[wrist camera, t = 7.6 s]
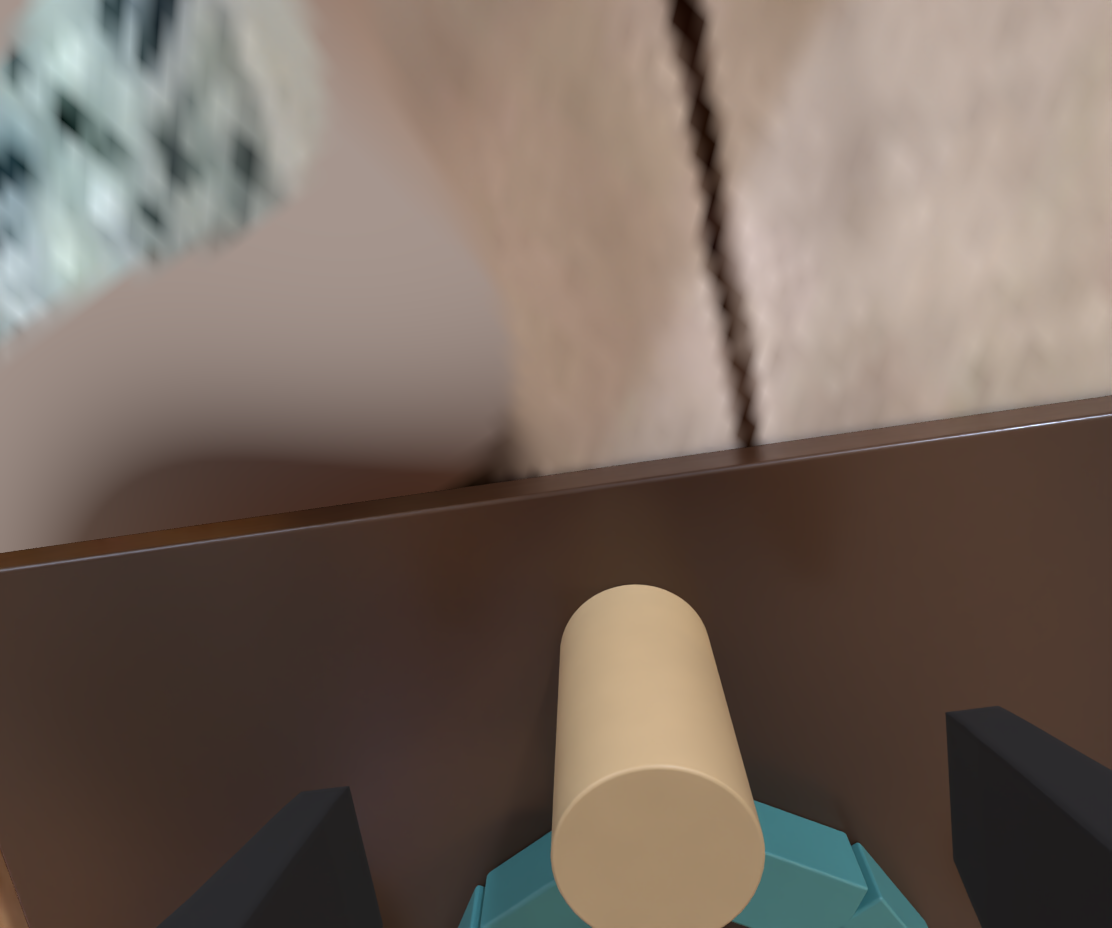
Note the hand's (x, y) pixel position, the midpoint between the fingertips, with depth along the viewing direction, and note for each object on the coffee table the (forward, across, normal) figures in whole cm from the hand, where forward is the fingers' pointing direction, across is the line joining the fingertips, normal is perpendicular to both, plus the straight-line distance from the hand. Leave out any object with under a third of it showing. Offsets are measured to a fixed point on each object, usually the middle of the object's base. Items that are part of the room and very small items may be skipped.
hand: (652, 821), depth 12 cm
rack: (+5, 0, +4) cm, 7 cm away
